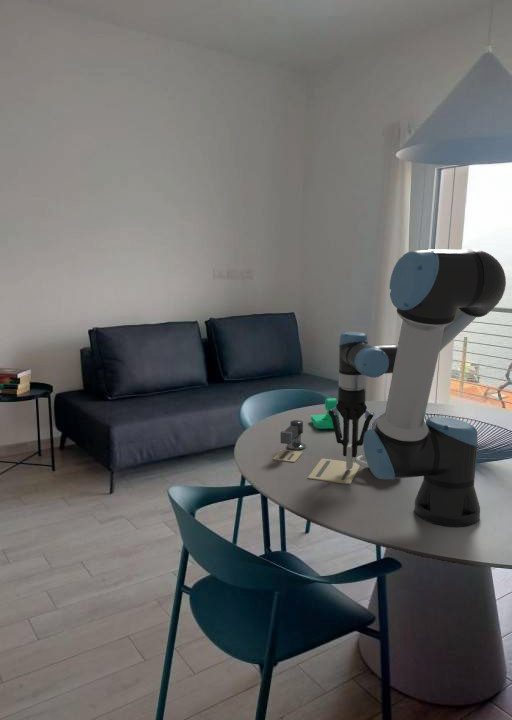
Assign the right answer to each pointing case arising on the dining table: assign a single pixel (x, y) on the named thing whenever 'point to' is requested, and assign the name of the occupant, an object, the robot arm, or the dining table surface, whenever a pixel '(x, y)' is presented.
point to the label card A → (288, 455)
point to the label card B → (334, 471)
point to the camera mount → (325, 415)
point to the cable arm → (292, 432)
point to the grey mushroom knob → (296, 444)
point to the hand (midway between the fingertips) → (349, 467)
